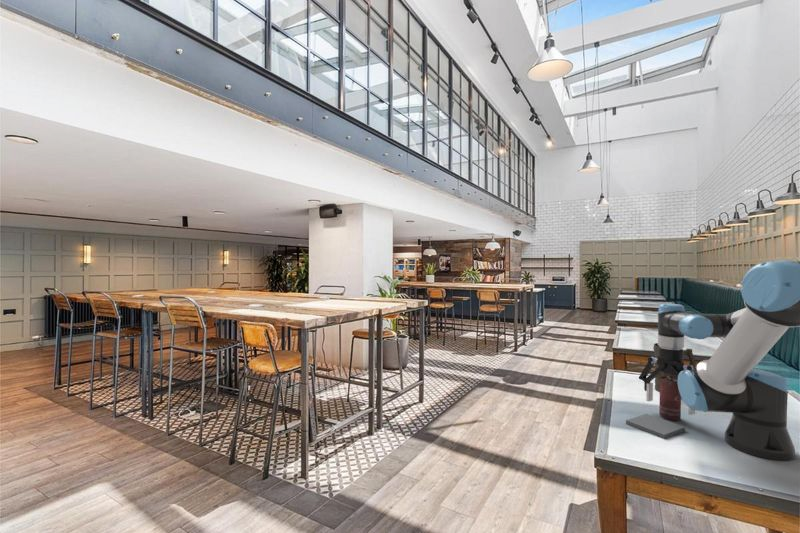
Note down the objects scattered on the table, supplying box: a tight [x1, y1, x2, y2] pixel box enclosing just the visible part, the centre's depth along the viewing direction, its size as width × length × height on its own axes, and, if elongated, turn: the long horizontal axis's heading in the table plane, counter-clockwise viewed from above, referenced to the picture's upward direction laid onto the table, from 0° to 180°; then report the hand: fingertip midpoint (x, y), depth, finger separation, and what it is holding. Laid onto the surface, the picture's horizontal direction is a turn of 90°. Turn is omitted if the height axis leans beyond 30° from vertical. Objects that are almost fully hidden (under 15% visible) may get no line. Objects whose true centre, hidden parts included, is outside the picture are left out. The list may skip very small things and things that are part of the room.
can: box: [659, 376, 682, 422], centre depth 132 cm, size 6×6×14 cm
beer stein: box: [653, 342, 697, 393], centre depth 159 cm, size 15×11×20 cm
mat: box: [625, 413, 686, 439], centre depth 125 cm, size 12×12×1 cm
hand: (669, 407), depth 133 cm, fingers open, 13 cm apart
